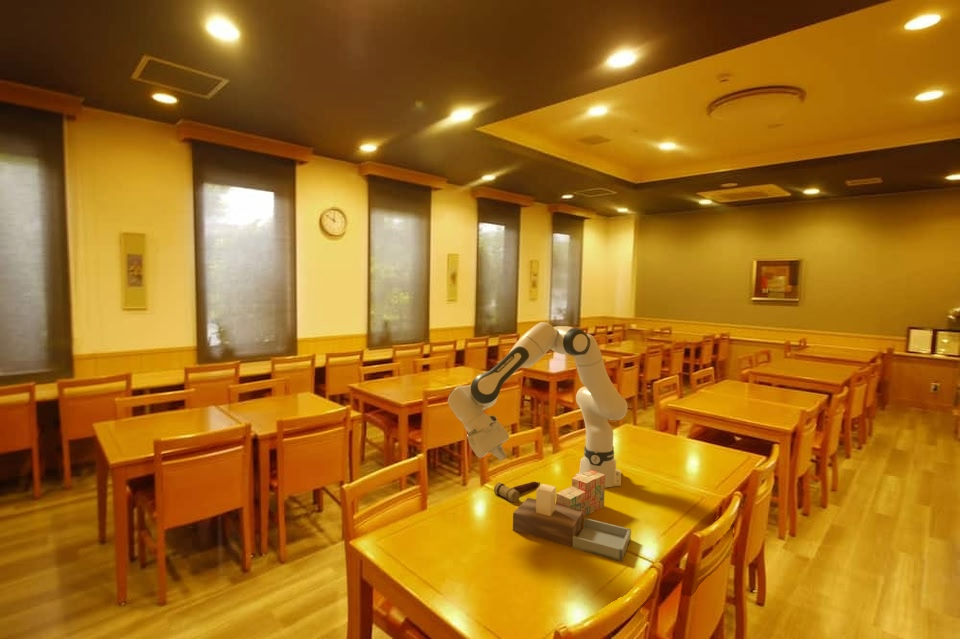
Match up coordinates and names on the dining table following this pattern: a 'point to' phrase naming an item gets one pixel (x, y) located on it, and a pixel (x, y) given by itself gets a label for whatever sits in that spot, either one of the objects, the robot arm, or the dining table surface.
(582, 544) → the box
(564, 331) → the robot arm
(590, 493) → the stack of blocks
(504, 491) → the gavel
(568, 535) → the dark brown brick
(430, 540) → the dining table surface
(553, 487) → the tile block
